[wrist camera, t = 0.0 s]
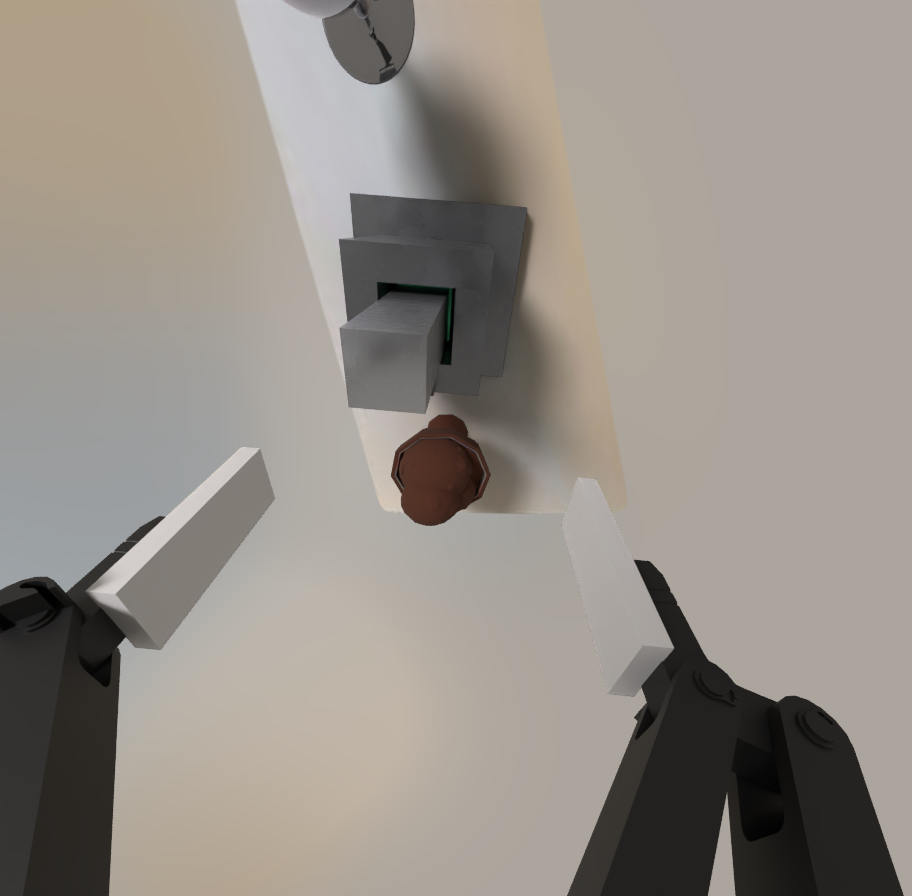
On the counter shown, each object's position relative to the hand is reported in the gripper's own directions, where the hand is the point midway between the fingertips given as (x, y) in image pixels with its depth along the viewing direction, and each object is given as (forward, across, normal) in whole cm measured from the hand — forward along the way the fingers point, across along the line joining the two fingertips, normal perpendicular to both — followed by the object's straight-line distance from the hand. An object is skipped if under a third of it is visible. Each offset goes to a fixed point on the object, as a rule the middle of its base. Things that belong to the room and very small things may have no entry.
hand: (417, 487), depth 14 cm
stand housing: (+28, -2, +3) cm, 28 cm away
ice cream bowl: (+28, 0, -14) cm, 31 cm away
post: (+26, -2, +3) cm, 26 cm away
